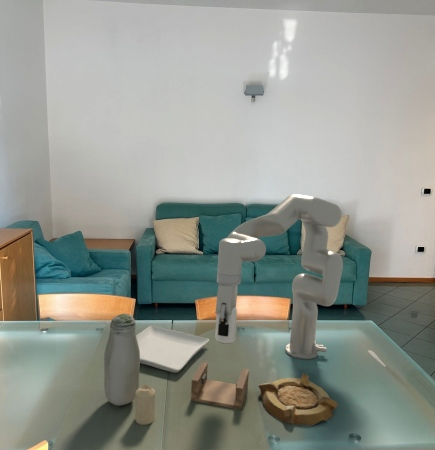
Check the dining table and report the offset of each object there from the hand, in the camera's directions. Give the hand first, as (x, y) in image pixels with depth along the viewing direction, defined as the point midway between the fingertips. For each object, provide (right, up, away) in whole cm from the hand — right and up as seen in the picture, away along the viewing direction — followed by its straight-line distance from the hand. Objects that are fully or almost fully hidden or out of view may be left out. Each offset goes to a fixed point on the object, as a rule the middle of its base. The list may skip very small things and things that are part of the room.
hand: (225, 330), depth 143 cm
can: (0, -3, +1) cm, 3 cm away
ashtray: (+22, -23, -3) cm, 32 cm away
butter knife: (+61, -20, +23) cm, 68 cm away
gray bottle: (-32, -20, -7) cm, 38 cm away
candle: (-24, -22, -15) cm, 36 cm away
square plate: (-23, -15, +26) cm, 38 cm away
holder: (-2, -20, 0) cm, 21 cm away
